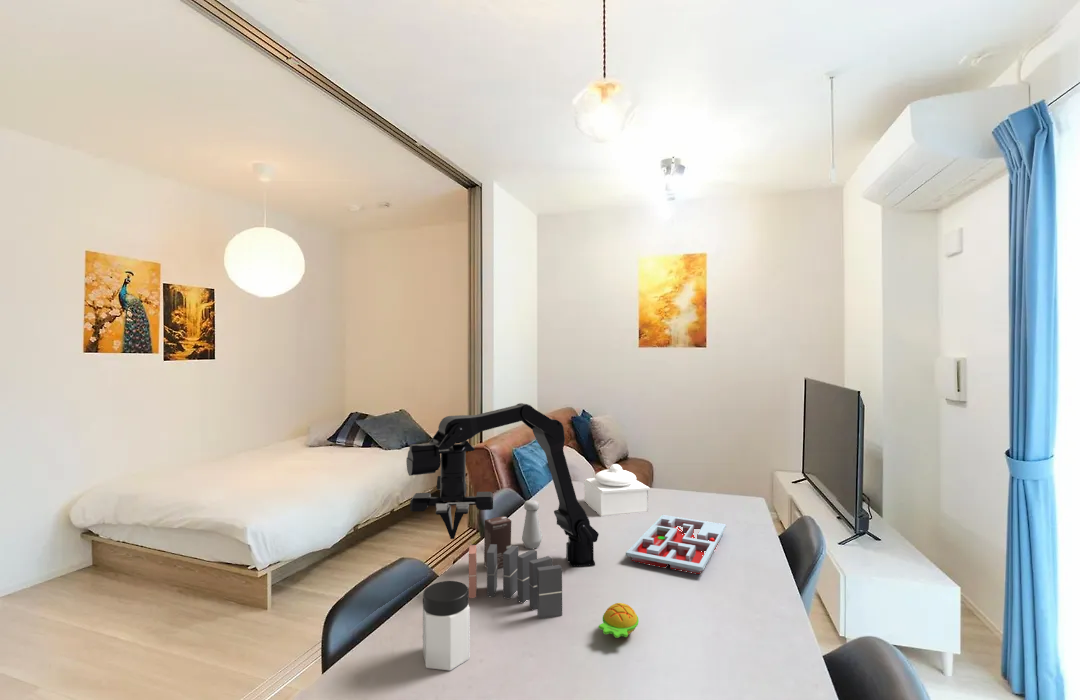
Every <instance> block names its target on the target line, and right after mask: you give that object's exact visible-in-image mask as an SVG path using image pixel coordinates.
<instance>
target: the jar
mask: <svg viewBox="0 0 1080 700" xmlns="http://www.w3.org/2000/svg"><path fill="white" fill-rule="evenodd" d="M470 609H471V608H470V605H469V586H468V585H467V584H465V583H463V582H462V581H461V582H460V581H457V580H456V581H455V580H443V581H439V582H436V583H433V584H431V585H429V586H427V587H426V588H425V589H424V591H423V593H422V655H423V658H424V659H423V660H424V664H425V668H426V669H431V670H439V671H452V670H453V669H456V668H457V667H458V666H461V665H462V664H463V663H465V662H467V661H468V660H470V658H471V636H470V635H471V633H470V632H471V628H470V627H471V625H470V624H471V623H470V622H471V621H470V620H471V619H470V618H471V617H470V615H471V614H470V613H471V611H470Z"/></svg>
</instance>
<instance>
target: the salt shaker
mask: <svg viewBox="0 0 1080 700" xmlns="http://www.w3.org/2000/svg"><path fill="white" fill-rule="evenodd" d="M523 504H524V505H523V508H524V510H525V516H524V524H523V529H522V536H521V540H522V543H523V544H524V548H525V549H528V548H530V549H529V550H531V549H532V550H534V549H533V548H536V549H538V548H539V547H540V545H541V543H542V540H543V536H542V529H541V524H540V519H539V513H538V510H539V508H540V503H539V501H538V500H535V499H528V500H526V501H525V502H524V503H523Z"/></svg>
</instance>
